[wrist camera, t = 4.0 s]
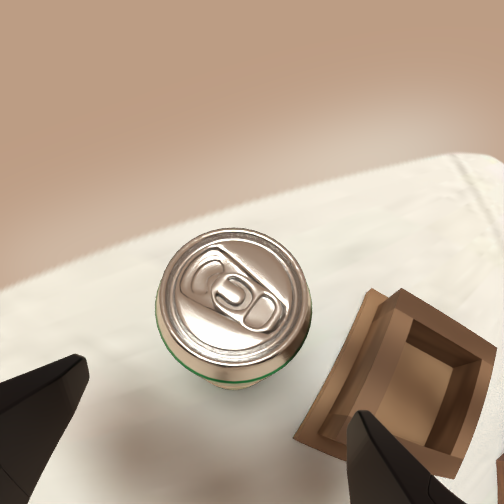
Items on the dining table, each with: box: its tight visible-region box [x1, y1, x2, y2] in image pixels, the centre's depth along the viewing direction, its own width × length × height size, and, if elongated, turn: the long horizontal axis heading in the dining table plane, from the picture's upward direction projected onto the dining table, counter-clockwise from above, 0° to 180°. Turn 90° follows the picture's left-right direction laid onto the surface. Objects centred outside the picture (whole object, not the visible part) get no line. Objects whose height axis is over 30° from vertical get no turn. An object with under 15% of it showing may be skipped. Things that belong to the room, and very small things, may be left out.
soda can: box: [155, 228, 312, 390], centre depth 14 cm, size 5×5×12 cm
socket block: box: [293, 288, 497, 479], centre depth 16 cm, size 12×12×4 cm
